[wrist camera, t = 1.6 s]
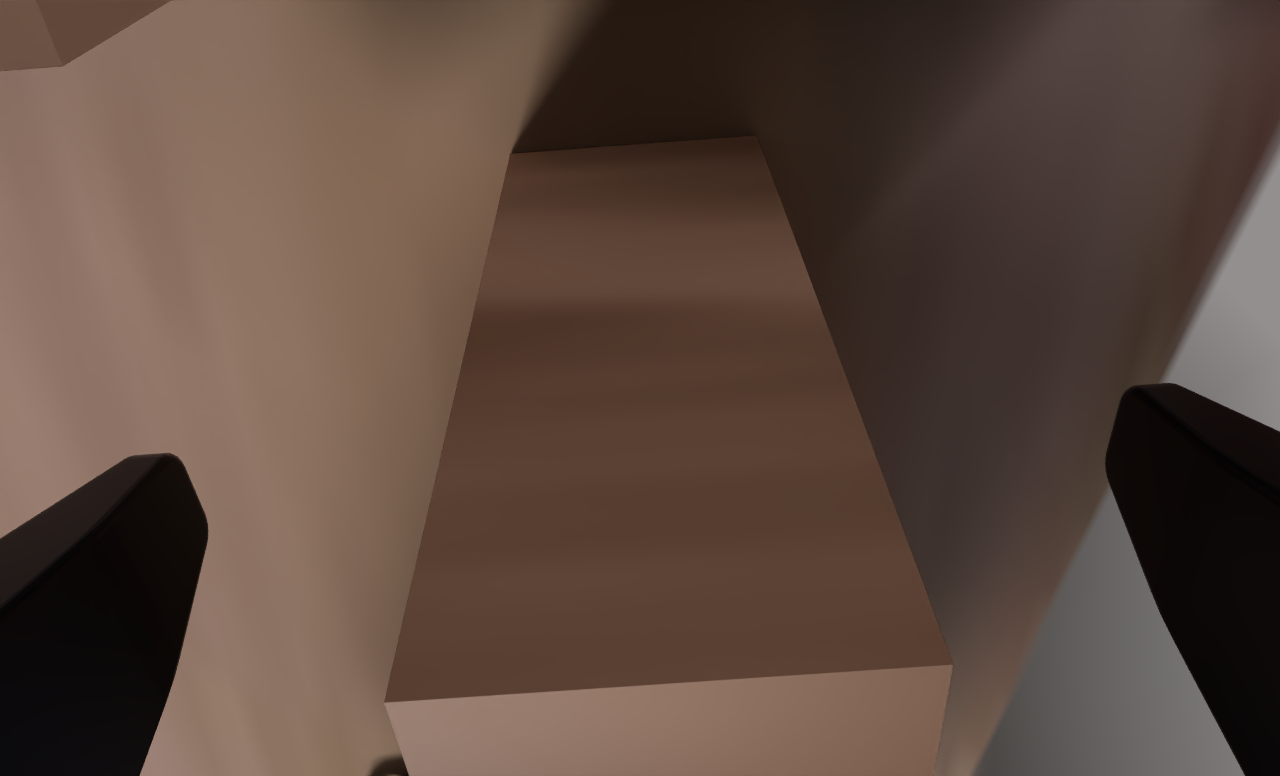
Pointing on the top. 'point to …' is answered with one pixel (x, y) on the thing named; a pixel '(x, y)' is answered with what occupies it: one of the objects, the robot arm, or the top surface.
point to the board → (61, 28)
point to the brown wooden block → (660, 501)
